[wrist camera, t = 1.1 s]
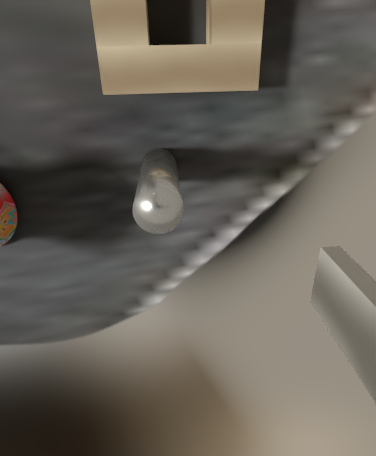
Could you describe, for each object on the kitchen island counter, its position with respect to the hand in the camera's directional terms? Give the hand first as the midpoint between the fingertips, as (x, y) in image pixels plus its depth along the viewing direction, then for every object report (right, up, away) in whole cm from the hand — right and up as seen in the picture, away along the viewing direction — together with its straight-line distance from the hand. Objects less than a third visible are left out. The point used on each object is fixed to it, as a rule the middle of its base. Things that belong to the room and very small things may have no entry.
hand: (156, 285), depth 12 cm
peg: (-1, +8, +15) cm, 17 cm away
